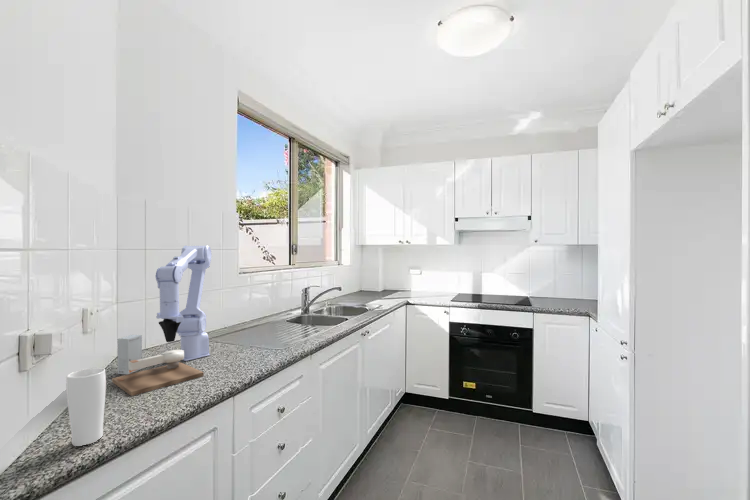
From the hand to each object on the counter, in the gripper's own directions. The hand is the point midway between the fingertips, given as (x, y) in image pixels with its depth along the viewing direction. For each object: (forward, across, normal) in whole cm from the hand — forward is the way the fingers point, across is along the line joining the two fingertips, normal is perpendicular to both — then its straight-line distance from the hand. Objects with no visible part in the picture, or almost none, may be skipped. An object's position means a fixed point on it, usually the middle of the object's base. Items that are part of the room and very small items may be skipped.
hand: (170, 341), depth 124 cm
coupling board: (+10, +4, -6) cm, 12 cm away
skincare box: (+11, -13, -8) cm, 18 cm away
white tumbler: (+11, +32, -32) cm, 47 cm away
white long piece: (+7, -1, -4) cm, 8 cm away
